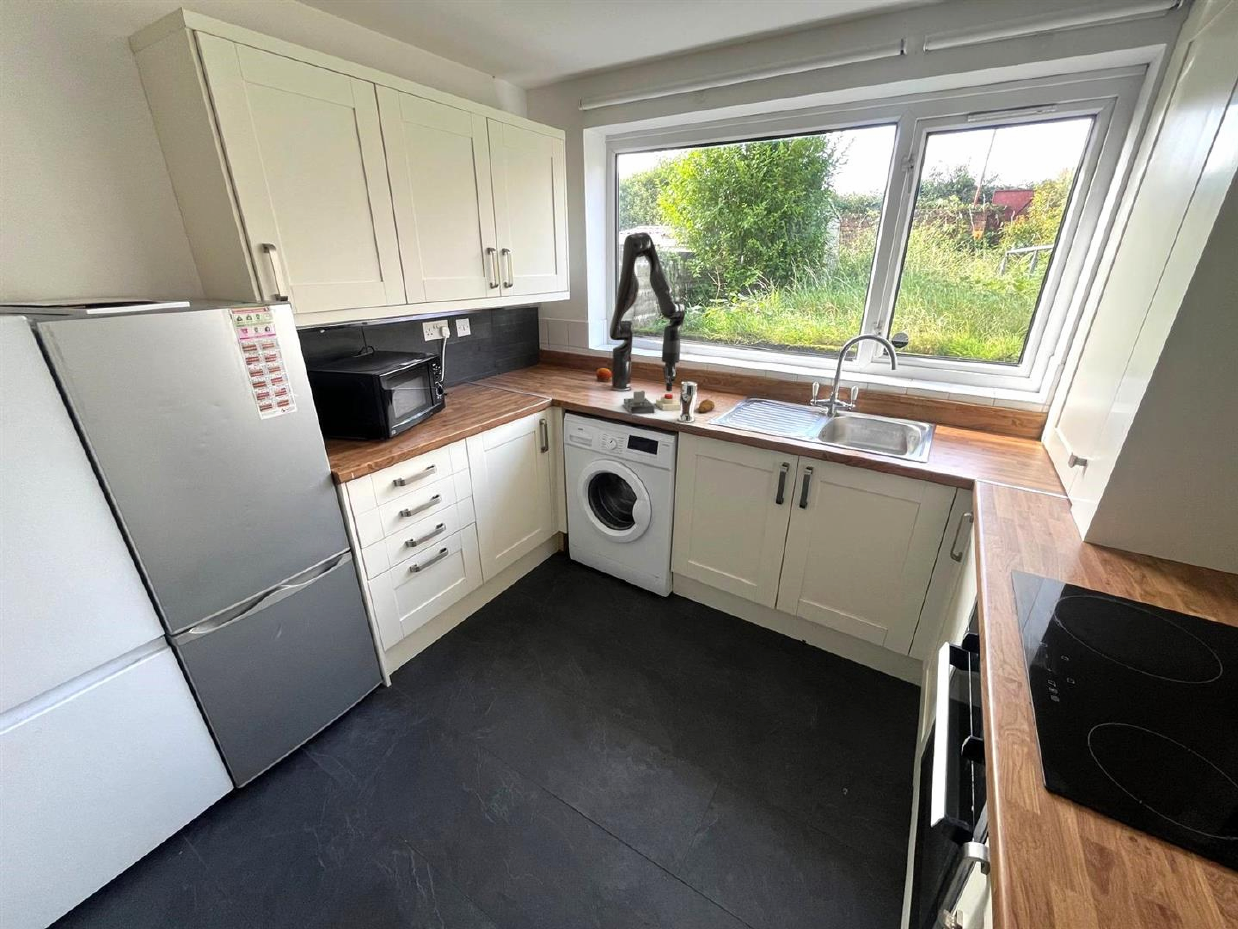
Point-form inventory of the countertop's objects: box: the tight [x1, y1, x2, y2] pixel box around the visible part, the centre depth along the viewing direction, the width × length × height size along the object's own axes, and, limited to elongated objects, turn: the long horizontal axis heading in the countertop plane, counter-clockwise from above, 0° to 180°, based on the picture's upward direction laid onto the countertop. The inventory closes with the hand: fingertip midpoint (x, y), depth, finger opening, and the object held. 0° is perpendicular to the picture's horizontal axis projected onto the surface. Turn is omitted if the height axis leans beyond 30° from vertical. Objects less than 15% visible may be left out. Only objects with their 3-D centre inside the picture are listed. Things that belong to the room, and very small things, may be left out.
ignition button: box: [663, 393, 674, 399], centre depth 218 cm, size 4×4×2 cm
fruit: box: [595, 367, 612, 383], centre depth 265 cm, size 8×8×8 cm
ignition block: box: [655, 395, 680, 411], centre depth 219 cm, size 11×8×4 cm
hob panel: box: [623, 397, 655, 415], centre depth 214 cm, size 14×10×3 cm
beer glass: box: [678, 381, 698, 423], centre depth 198 cm, size 7×7×15 cm
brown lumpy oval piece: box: [698, 398, 716, 414], centre depth 215 cm, size 14×7×5 cm, turn 151°
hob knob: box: [632, 390, 646, 403], centre depth 213 cm, size 5×1×5 cm, turn 103°
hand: (668, 390), depth 217 cm, fingers closed
